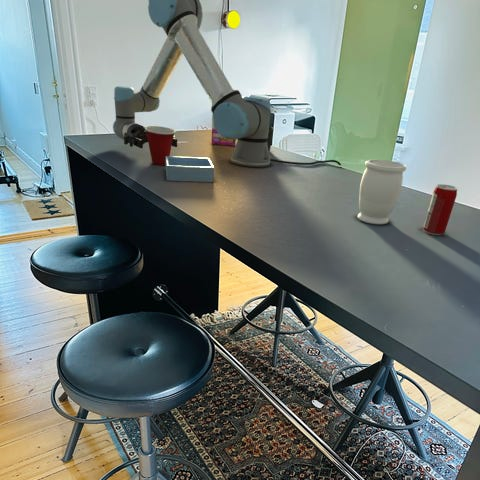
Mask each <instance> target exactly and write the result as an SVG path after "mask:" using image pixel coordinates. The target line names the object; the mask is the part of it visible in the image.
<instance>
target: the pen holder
mask: <svg viewBox="0 0 480 480" xmlns="http://www.w3.org/2000/svg"><path fill="white" fill-rule="evenodd" d="M273 133H274V127H272V126H269V131H268V141H267V145H268V151H269V152H270V151H271V147H272V140H273Z"/></svg>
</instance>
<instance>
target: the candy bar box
mask: <svg viewBox="0 0 480 480" xmlns="http://www.w3.org/2000/svg"><path fill="white" fill-rule="evenodd" d="M213 119H214V118H213V115H212V119H211V145H215V146H216V145H217V146H226V147H235V146H236V143H237V139H226V138H224V137H222V136H221V135H220V134H219V133H218V132H217V131H216V129H215V127H214V124H213Z"/></svg>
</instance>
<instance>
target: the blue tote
mask: <svg viewBox="0 0 480 480" xmlns="http://www.w3.org/2000/svg"><path fill="white" fill-rule="evenodd" d="M165 176H166V181H168V182H169V181H171V182H196V183H197V182H198V183H200V182H201V183H214V181H215V166H214V165H213V163H212V161H211V159H210V157H193V156H171V155H170V156H166V165H165Z"/></svg>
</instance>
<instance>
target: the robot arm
mask: <svg viewBox="0 0 480 480" xmlns="http://www.w3.org/2000/svg"><path fill="white" fill-rule="evenodd" d="M147 10H148V16H149V18H150V21H151V22H152V23H153V24H154V25H155V26H157V27H158V28H162V29H163V31H164V33H165V34H166V39H165V41H164V43H163V44H162V47H161V49H160V51H159V53H158V54H157V57H156V59H155V60H154V63H153V64H152V67H151V68H150V71H149V72H148V74H147V76H146V78H145V80H144V82H143V84H142V86H141V88H140V90H139V91H135V89H134V88H133V87H131V86H120V85H118V86H115V87H114V91H113V92H114V94H113V95H114V96H113V99H114V110H115V111H114V112H115V120H114V122H113V124H112V131H113V133H114V134H115V136H117V137H118V138H120V139H121V140H123V144H124V145H126V146H127V145H128V144H129V147H130V148H133V147H134V146H135V147H137V148H139V149H144V147H143V146H144V145H145V144H147V143H148V137H147V133H146V130H145V127H146V126H144V125H142V124H139V123H136V113H150V112H154V111H157V110H158V109H159V108H160V102H161V100H160V96H161V94H162V92H163V90H164V89H165V87H166V85H167V83H168V81H169V80H170V78H171V76H172V74H173V72H174V70H175V69H176V67H177V65H178V63H179V62H180V60H181V58H182V56H184V57H185V60H186V61H187V63H188V65H189V66H190V68H191V70H192V72H193V73H194V75H195V76H196V77H195V78H196V79H197V80H198V82H199V83H200V85H201V87H202V89H203V90H204V93H205V94H206V96H207V97H208V99H209V101H210V103H211V107H210V111H211V114H212V116H213V118H214V119H213V124H214V127H215V129H216V131H217V132H218V133H219V134H220V135H221V136H222V137H224V138H226V139H237V141H236V145H235V146H234V148H233V149H232V155H231V159H230V161H231V163H232V164H234V165H237V166H241V167H246V168H266V167H269V166H270V165H271V162H273V163H274V162H275V163H279V164H286V165H287V164H288V165H297V166H298V165H299V166H312V165H317V164H327V163H336V164H337V165H338V166H342V164H341V162H339V161H338V160H337V159H327V160H326V159H325V160H316V161H312V162H300V161H298V162H297V161H286V160H281V159H275V158H271V156H270V151H268V145H267V141H268V131H269V127H270V121H271V113H272V103H271V101H269V100H267V99H264V98H258V97H250V96H243V95H242V93H241V92H240V90H239V89H235V88H233V87H232V85H231V84H230V82H229V79H228V78H227V77H226V75H225V73H224V71H223V69H222V68H221V66H220V64H219V63H218V61H217V60H216V59H217V58H215V57H216V56H214V54H213V52H212V50H211V49H210V47H209V45H208V44H207V42H206V40H205V38H204V37H203V35H202V33H201V31H200V29H201V26H202V22H203V14H204V13H203V6H202V3H201V1H200V0H148V6H147ZM171 147H174V148H177V147H178V138H176V137H175V135H174V137H173V140H172V145H171Z"/></svg>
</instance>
